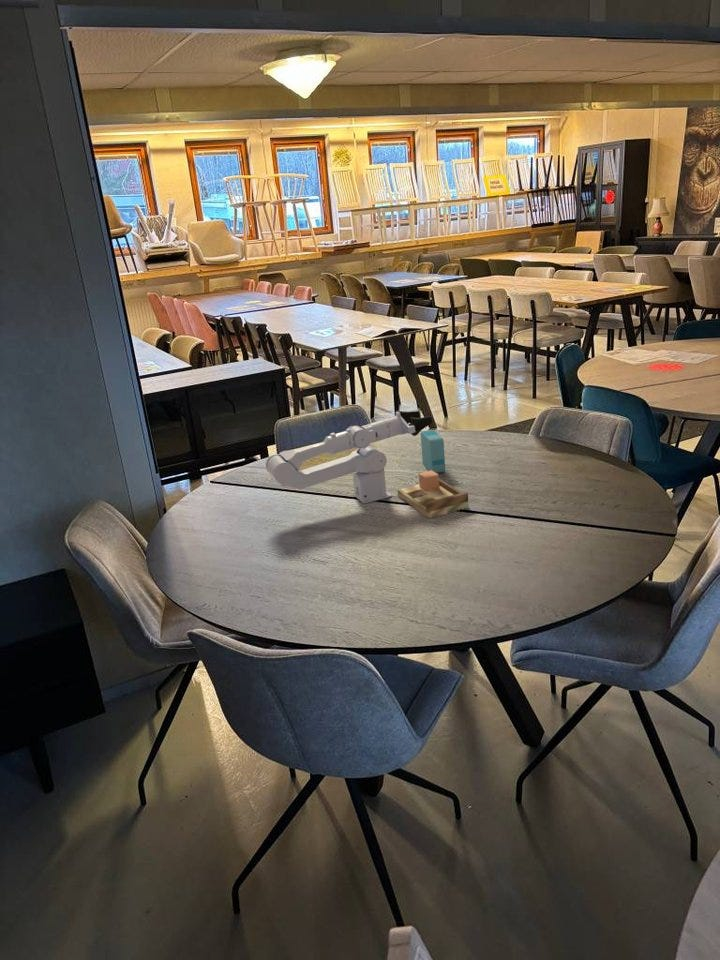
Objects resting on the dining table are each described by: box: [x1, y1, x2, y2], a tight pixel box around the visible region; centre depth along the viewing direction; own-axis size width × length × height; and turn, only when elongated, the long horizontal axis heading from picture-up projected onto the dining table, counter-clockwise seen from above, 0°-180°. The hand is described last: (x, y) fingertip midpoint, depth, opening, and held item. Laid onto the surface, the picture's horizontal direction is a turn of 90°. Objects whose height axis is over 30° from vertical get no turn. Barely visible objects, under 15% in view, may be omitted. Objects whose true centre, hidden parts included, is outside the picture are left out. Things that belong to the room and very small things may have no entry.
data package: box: [420, 429, 446, 474], centre depth 223 cm, size 12×4×12 cm, turn 11°
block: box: [418, 470, 440, 492], centre depth 204 cm, size 4×4×4 cm
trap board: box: [397, 478, 469, 519], centre depth 199 cm, size 13×20×4 cm, turn 22°
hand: (425, 417), depth 207 cm, fingers open, 7 cm apart
